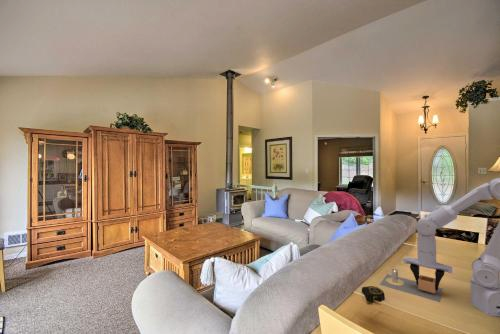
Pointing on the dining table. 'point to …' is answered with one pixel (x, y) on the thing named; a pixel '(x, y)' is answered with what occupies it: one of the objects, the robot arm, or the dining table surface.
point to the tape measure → (373, 294)
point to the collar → (426, 283)
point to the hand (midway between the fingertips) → (427, 286)
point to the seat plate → (411, 288)
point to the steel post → (394, 275)
